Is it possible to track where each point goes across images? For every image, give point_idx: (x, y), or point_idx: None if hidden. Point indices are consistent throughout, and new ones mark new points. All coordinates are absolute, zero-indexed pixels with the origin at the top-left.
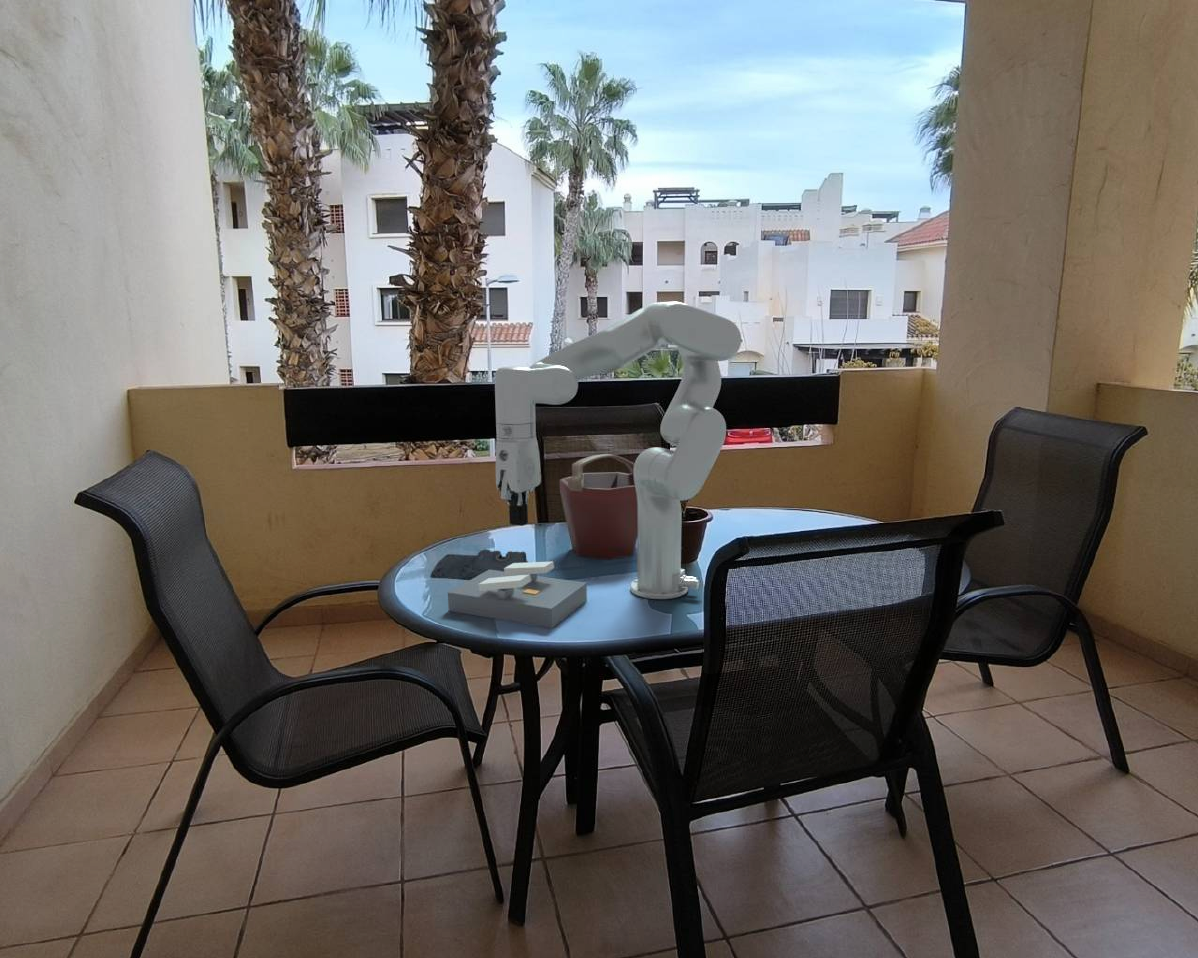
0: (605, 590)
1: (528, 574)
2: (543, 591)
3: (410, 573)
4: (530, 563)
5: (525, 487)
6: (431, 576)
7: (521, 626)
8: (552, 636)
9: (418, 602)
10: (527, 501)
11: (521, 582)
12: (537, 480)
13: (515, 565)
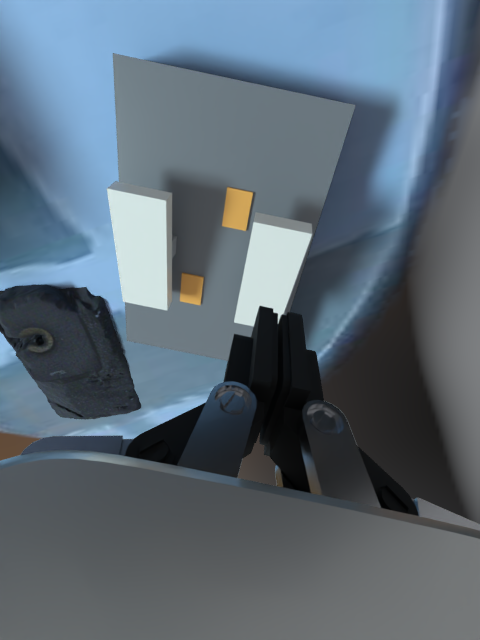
0: (35, 20)
1: (253, 226)
2: (223, 178)
3: (137, 432)
4: (128, 257)
5: (437, 565)
6: (139, 408)
7: (335, 192)
8: (400, 85)
9: None
10: (227, 393)
11: (306, 229)
12: (72, 537)
13: (144, 290)
